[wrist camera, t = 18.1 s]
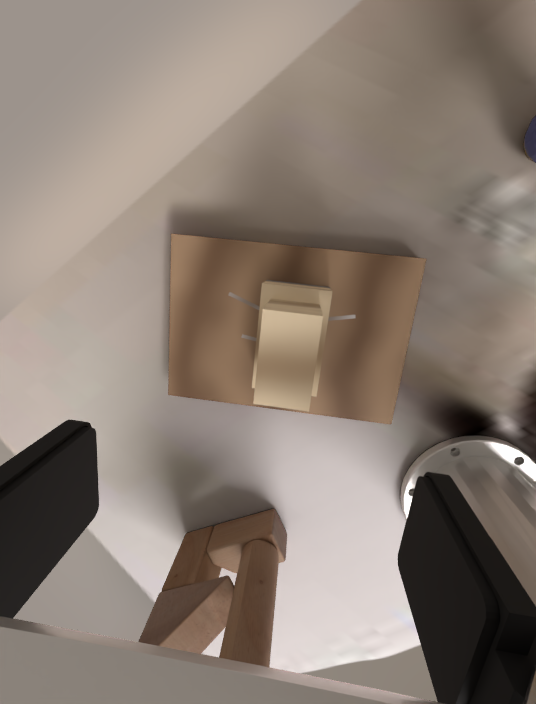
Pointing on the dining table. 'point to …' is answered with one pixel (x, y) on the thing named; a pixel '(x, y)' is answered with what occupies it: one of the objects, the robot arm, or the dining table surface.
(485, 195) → the dining table surface
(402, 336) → the walnut board
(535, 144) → the rubber mallet
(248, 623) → the wooden block
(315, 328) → the block
